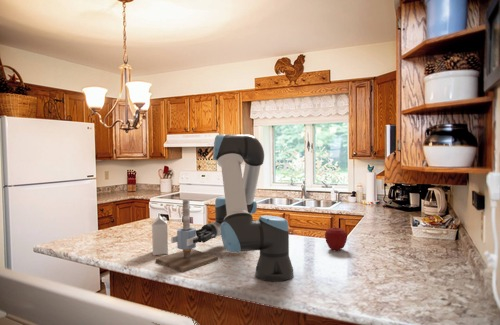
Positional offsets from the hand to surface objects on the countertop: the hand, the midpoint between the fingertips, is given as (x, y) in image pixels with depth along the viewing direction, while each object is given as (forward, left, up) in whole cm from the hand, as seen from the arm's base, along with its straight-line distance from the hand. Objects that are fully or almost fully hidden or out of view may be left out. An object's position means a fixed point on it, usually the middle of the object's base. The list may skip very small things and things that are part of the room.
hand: (179, 241), depth 143 cm
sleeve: (+1, -5, -4) cm, 6 cm away
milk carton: (+21, -4, -10) cm, 23 cm away
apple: (-44, -63, -10) cm, 77 cm away
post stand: (+1, -5, -10) cm, 11 cm away
